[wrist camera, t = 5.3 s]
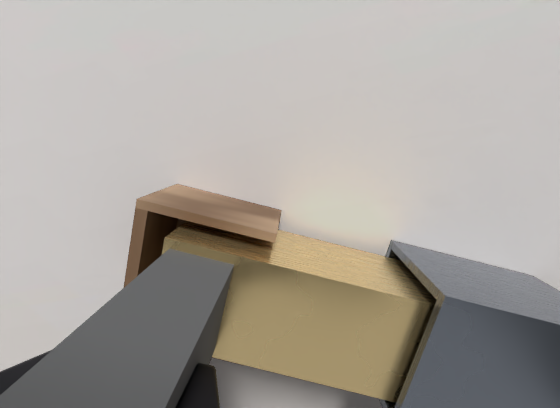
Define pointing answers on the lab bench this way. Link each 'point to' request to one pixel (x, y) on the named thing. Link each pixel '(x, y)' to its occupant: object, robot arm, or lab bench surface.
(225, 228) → the socket
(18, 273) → the lab bench surface
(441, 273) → the grey end cap
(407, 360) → the grey and tan block
